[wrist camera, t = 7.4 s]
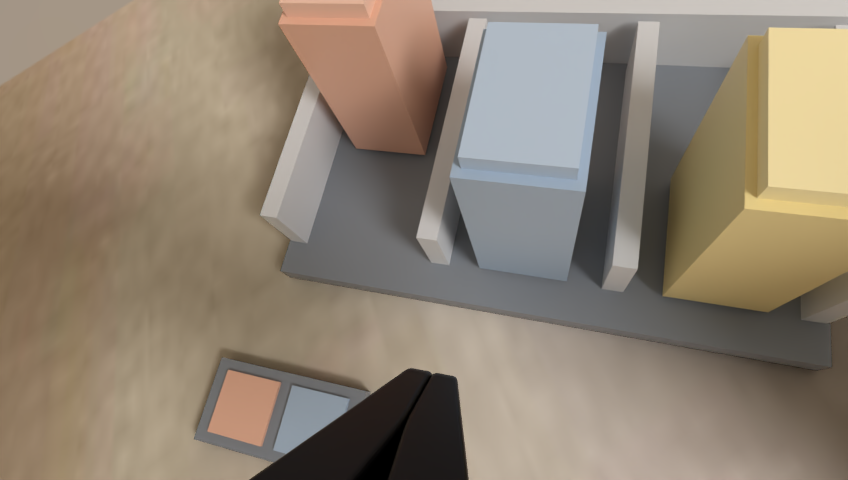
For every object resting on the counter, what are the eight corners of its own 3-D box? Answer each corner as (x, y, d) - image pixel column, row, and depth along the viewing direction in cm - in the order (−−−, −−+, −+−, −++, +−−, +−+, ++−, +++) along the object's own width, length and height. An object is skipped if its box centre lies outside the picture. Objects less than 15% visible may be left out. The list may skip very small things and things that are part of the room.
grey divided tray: (290, 277, 24) (245, 248, 20) (363, 47, 28) (337, -11, 24) (816, 370, 18) (889, 354, 14) (808, 64, 22) (862, -9, 19)
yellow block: (662, 296, 19) (755, 197, 11) (670, 178, 20) (757, 18, 12) (768, 312, 18) (953, 217, 10) (768, 187, 19) (928, 20, 11)
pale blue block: (479, 267, 21) (445, 166, 13) (500, 162, 22) (481, 13, 14) (566, 281, 20) (588, 180, 12) (581, 170, 21) (609, 15, 13)
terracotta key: (355, 148, 24) (269, 10, 16) (381, 64, 26) (313, -100, 18) (425, 155, 23) (368, 11, 15) (447, 67, 25) (406, -104, 17)
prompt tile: (202, 438, 22) (191, 439, 21) (229, 358, 23) (220, 356, 22) (348, 481, 20) (341, 482, 19) (370, 391, 21) (364, 390, 20)
